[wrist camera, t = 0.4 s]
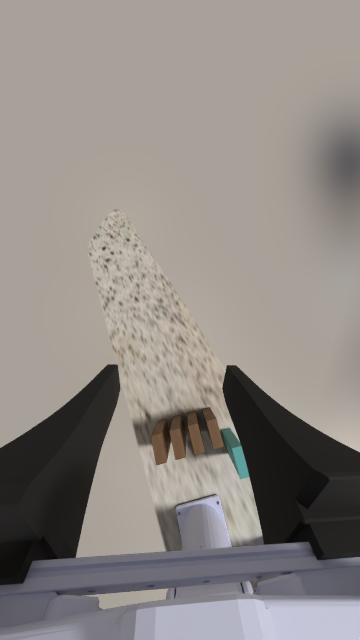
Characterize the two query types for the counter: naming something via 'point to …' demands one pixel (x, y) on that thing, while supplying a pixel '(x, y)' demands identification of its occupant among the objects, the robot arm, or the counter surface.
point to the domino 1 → (161, 442)
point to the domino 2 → (178, 437)
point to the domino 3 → (195, 433)
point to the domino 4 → (213, 428)
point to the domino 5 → (235, 453)
